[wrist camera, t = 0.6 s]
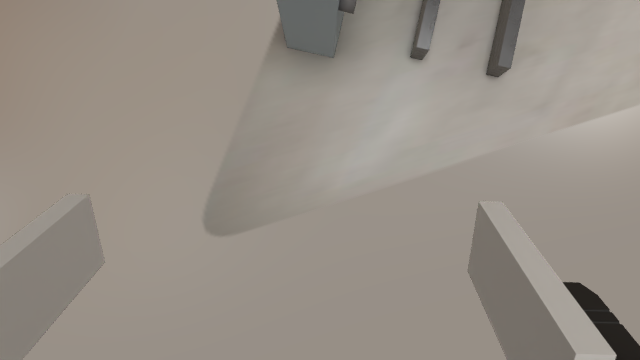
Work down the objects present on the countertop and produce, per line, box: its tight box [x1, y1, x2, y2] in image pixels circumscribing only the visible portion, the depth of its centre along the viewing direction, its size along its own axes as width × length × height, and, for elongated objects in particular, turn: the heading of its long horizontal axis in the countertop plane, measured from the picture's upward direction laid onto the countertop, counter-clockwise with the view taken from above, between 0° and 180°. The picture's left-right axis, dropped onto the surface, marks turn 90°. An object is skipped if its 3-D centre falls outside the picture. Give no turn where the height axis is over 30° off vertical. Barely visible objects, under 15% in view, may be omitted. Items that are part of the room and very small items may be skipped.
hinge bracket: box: [410, 0, 525, 77], centre depth 36 cm, size 9×8×2 cm
